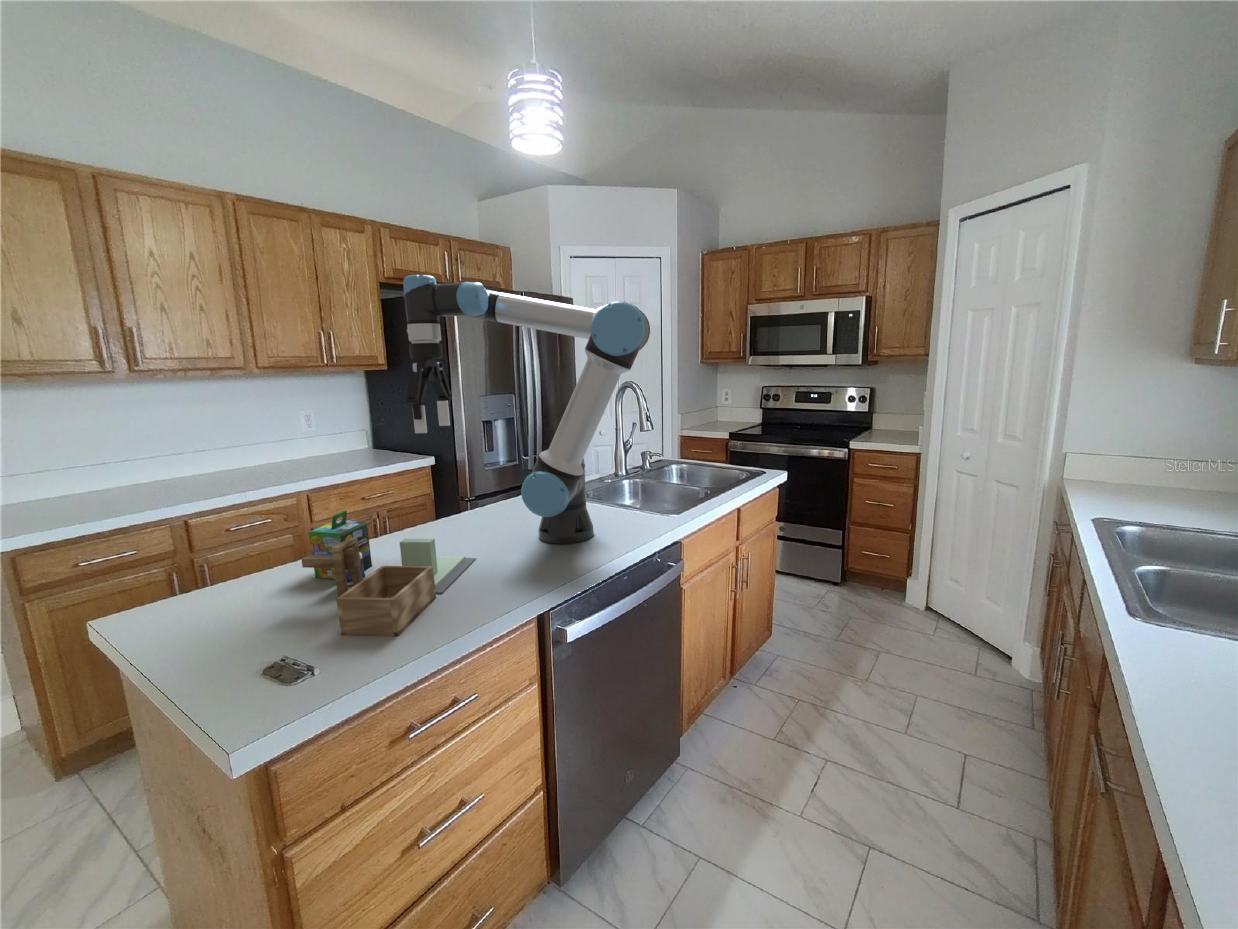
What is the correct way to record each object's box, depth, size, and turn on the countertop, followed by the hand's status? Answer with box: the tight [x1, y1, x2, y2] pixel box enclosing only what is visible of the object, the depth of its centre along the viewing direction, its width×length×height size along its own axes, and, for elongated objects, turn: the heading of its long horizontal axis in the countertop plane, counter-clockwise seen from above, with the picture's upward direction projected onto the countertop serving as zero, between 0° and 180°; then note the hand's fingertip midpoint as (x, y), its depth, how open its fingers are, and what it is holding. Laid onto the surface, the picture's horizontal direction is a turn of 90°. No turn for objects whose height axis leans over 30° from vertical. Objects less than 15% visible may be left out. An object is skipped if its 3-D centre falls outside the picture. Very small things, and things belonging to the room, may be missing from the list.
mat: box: [435, 557, 477, 595], centre depth 127 cm, size 16×20×1 cm
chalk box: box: [308, 510, 373, 580], centre depth 129 cm, size 9×9×15 cm
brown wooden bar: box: [300, 546, 361, 569], centre depth 111 cm, size 2×11×4 cm, turn 84°
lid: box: [399, 538, 466, 589], centre depth 127 cm, size 17×12×9 cm
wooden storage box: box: [331, 538, 437, 637], centre depth 107 cm, size 16×17×13 cm
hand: (433, 429), depth 138 cm, fingers open, 13 cm apart
